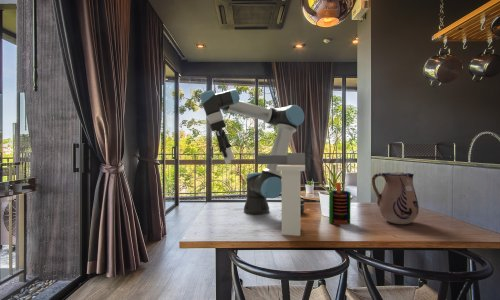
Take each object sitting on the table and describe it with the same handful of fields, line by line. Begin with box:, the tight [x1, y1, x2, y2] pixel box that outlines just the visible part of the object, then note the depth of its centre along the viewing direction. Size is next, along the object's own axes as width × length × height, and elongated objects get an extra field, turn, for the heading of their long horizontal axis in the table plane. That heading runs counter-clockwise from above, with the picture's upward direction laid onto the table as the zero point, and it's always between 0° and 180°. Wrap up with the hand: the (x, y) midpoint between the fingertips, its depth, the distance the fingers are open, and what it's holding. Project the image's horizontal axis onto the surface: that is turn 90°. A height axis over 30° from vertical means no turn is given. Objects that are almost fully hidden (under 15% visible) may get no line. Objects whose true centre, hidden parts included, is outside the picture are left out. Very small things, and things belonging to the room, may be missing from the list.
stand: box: [276, 163, 306, 237], centre depth 129 cm, size 17×12×30 cm
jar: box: [301, 198, 305, 215], centre depth 167 cm, size 10×10×8 cm
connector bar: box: [256, 152, 306, 165], centre depth 135 cm, size 6×22×5 cm, turn 80°
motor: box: [328, 182, 352, 226], centre depth 145 cm, size 10×9×20 cm
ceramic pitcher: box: [371, 171, 420, 225], centre depth 145 cm, size 18×21×25 cm
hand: (230, 161), depth 146 cm, fingers open, 13 cm apart
